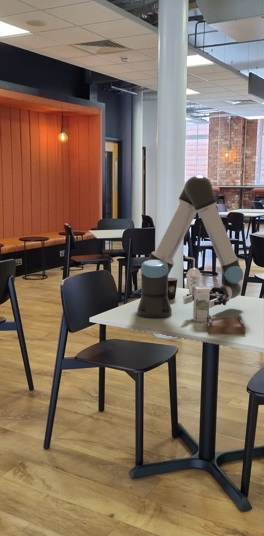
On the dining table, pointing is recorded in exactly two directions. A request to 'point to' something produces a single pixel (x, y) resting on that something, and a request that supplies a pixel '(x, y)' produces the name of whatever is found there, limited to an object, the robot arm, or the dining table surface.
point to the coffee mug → (172, 288)
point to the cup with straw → (193, 277)
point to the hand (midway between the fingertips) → (196, 302)
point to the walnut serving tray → (225, 325)
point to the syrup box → (201, 303)
